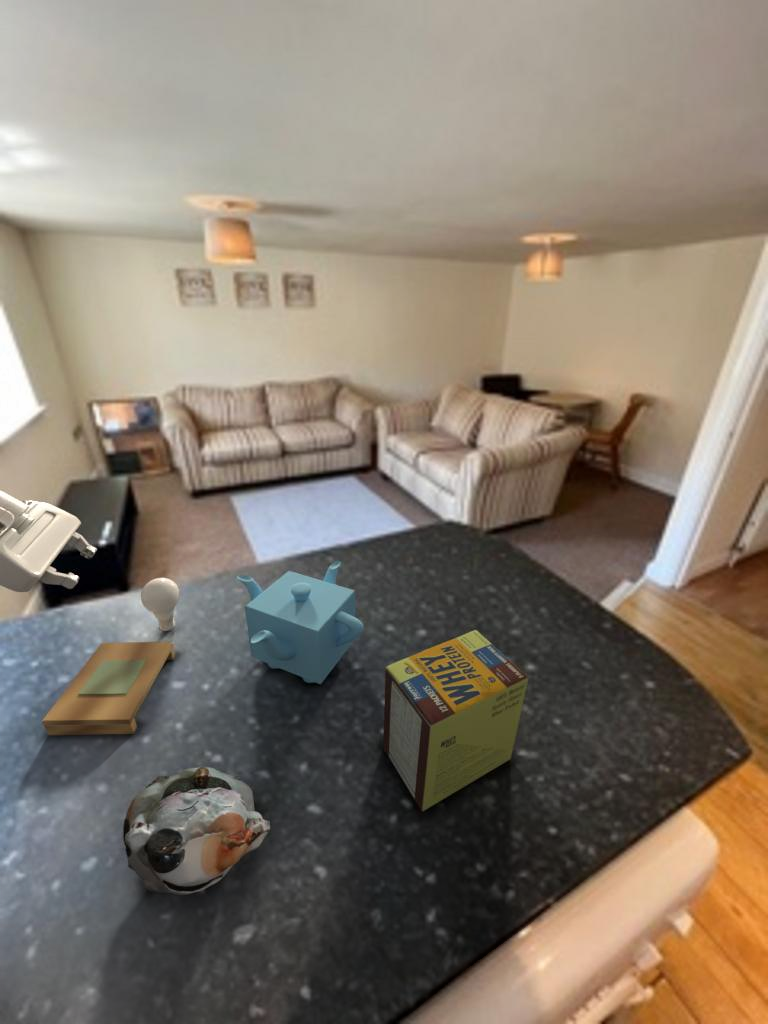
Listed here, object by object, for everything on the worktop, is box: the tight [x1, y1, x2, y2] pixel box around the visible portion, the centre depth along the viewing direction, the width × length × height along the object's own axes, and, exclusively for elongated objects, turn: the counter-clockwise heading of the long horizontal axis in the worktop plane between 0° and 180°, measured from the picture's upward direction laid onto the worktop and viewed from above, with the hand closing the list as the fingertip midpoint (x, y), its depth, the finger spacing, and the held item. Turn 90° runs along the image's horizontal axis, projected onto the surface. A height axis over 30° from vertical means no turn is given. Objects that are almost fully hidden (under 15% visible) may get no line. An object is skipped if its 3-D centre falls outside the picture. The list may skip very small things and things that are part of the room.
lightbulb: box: [140, 577, 181, 632], centre depth 83 cm, size 6×6×11 cm
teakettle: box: [236, 560, 364, 685], centre depth 77 cm, size 19×19×15 cm
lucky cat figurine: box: [122, 766, 271, 896], centre depth 49 cm, size 15×12×14 cm
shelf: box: [41, 641, 176, 736], centre depth 71 cm, size 12×16×3 cm
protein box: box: [382, 629, 529, 812], centre depth 60 cm, size 10×15×16 cm
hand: (85, 568), depth 76 cm, fingers open, 8 cm apart
